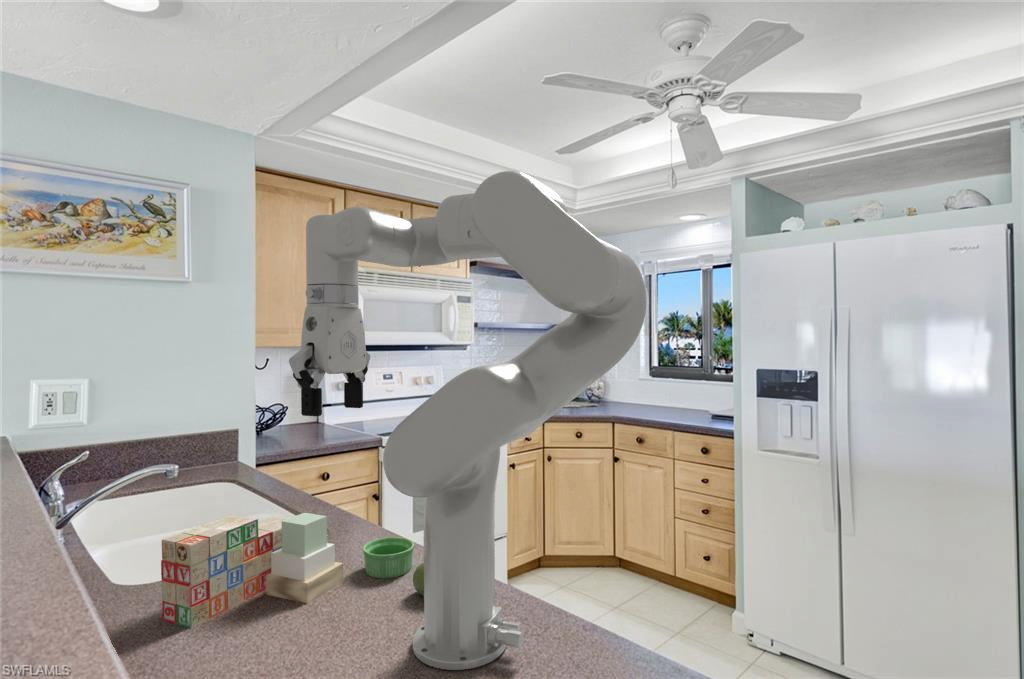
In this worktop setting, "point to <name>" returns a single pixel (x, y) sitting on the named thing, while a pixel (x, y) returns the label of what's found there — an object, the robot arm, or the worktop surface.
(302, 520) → the sage cube
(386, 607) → the worktop surface
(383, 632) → the worktop surface
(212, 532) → the stack of blocks
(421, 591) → the pear
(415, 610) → the worktop surface
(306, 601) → the tower base
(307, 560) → the tower top
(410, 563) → the ramekin
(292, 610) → the worktop surface
